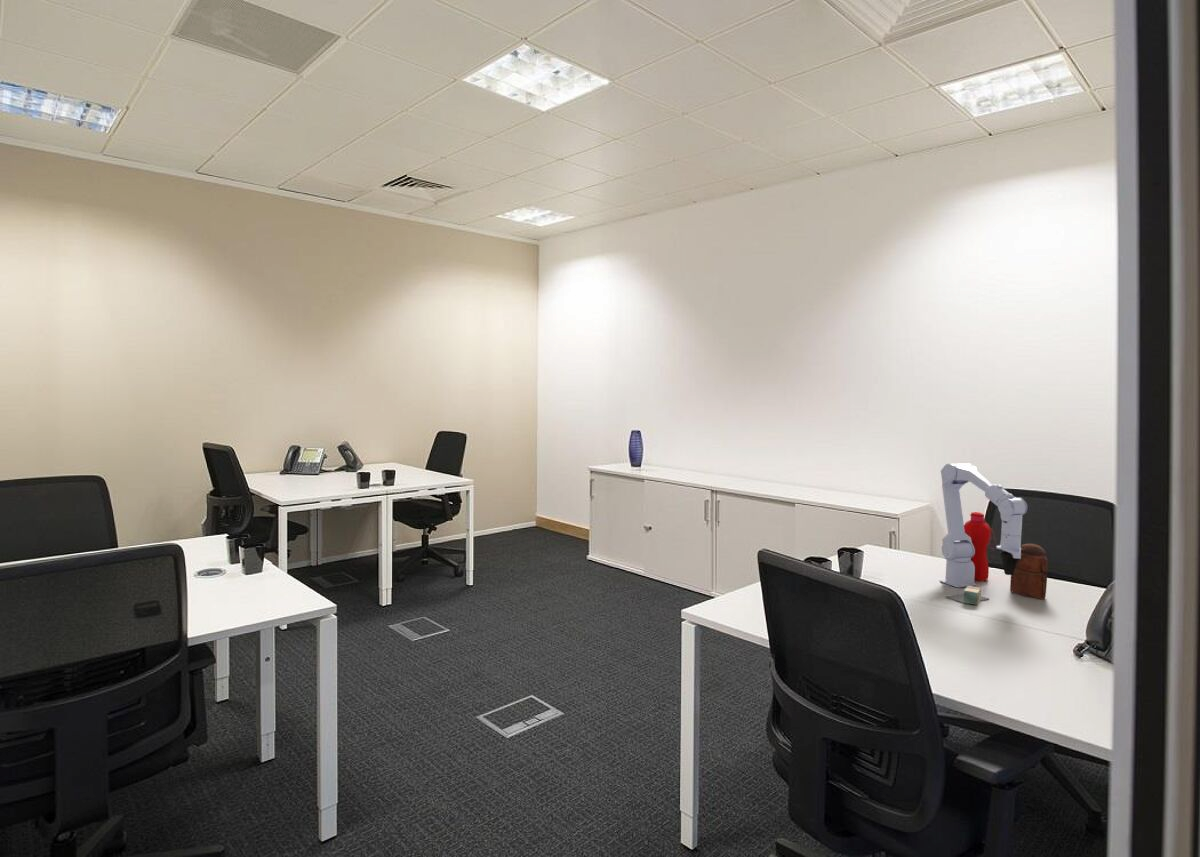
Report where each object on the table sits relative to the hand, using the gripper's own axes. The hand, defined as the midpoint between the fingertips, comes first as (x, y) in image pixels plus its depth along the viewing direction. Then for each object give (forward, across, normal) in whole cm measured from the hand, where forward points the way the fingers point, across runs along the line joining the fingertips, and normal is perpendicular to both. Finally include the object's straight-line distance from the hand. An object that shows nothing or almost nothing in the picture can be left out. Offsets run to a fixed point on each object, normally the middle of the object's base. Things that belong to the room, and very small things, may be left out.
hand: (1008, 574), depth 225 cm
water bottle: (+10, -29, -2) cm, 31 cm away
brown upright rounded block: (+10, -13, +10) cm, 19 cm away
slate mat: (+10, -2, -12) cm, 15 cm away
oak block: (+8, -2, -10) cm, 12 cm away
